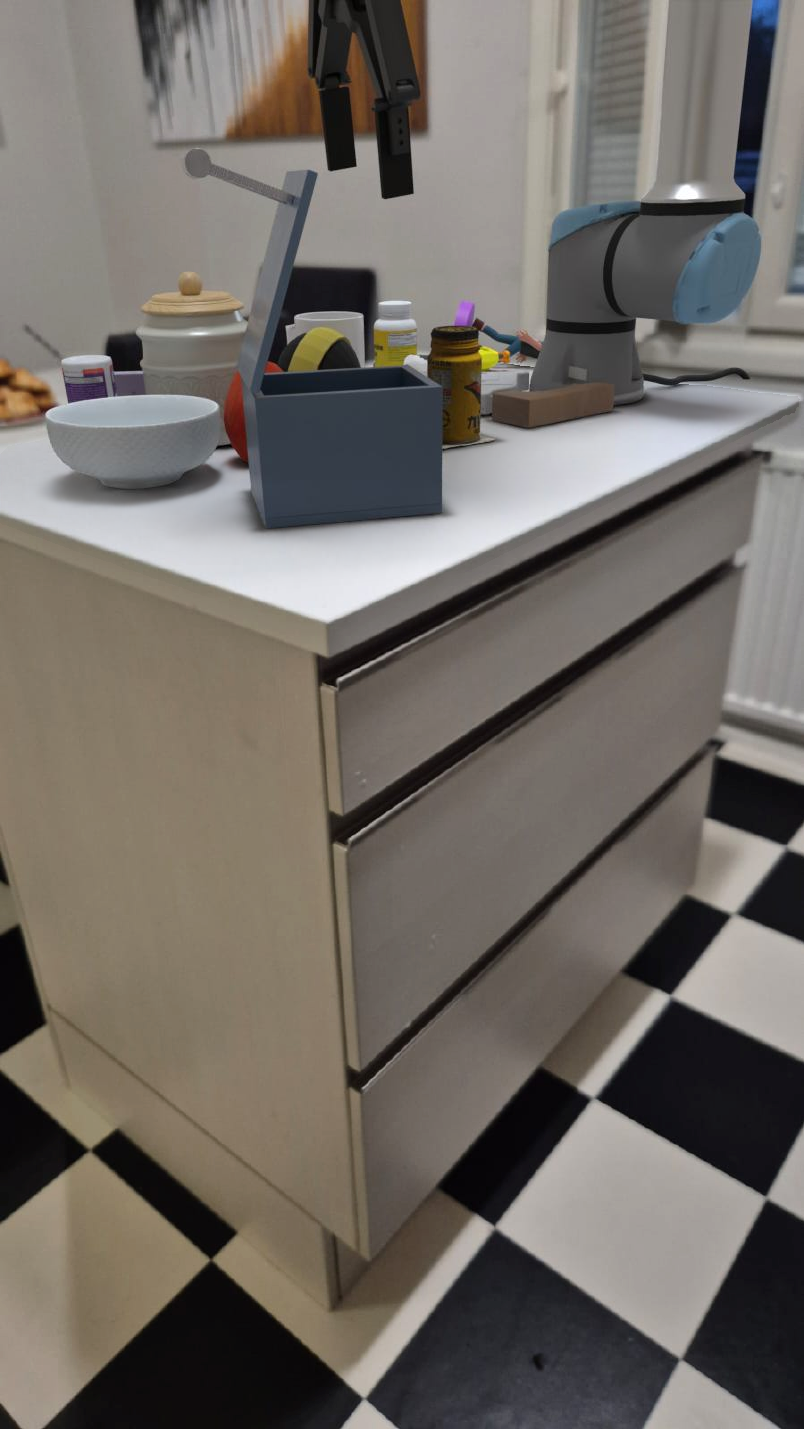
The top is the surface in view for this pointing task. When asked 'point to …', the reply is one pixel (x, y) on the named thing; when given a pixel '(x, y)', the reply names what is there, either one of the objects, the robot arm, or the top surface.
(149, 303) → the jar
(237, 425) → the apple
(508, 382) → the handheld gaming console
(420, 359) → the pincushion
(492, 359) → the toy figure
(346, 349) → the bomb
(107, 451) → the cereal bowl
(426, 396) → the blue-grey open box
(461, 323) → the figurine
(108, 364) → the pill bottle
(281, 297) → the lid
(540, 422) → the wooden block
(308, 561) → the top surface
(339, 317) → the mug
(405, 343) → the pill bottle
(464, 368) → the condiment
